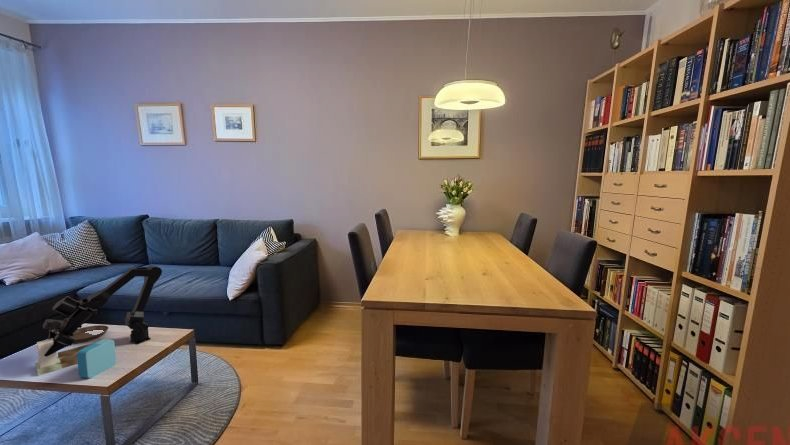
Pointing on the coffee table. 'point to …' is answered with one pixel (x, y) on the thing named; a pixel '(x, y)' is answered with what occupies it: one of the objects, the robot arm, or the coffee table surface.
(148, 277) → the robot arm
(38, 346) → the cream block
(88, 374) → the data package
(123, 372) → the coffee table surface
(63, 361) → the walnut channel
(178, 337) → the coffee table surface
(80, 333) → the plant saucer
